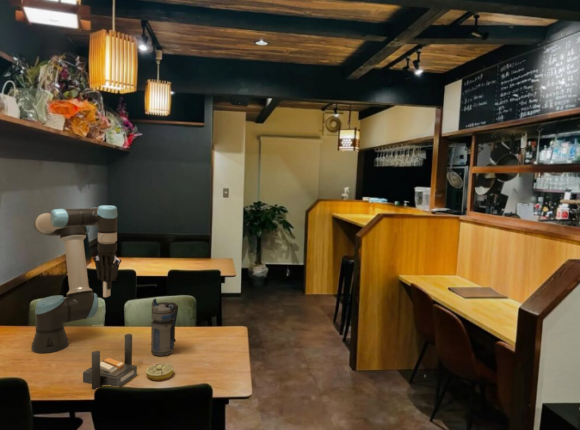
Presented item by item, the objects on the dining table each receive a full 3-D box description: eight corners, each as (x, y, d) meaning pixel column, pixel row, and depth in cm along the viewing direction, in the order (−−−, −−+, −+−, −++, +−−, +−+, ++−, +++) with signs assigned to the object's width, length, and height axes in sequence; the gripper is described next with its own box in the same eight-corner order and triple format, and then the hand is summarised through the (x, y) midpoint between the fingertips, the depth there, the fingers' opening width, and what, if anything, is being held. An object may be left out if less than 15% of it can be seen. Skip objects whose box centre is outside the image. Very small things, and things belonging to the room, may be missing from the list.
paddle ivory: (96, 366, 166) (96, 363, 166) (101, 363, 169) (101, 361, 169) (112, 373, 164) (112, 370, 164) (116, 370, 167) (117, 367, 167)
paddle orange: (103, 362, 170) (103, 359, 170) (108, 359, 173) (108, 357, 172) (119, 368, 168) (119, 366, 168) (123, 366, 171) (124, 363, 170)
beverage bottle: (170, 359, 188) (171, 305, 186) (145, 354, 192) (145, 301, 190) (182, 350, 198) (183, 299, 196) (158, 346, 202) (158, 296, 199)
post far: (122, 367, 178) (123, 335, 177) (127, 364, 181) (127, 333, 180) (128, 369, 177) (129, 337, 176) (133, 366, 180) (133, 334, 179)
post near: (89, 388, 160) (89, 353, 159) (95, 385, 163) (95, 350, 162) (96, 390, 159) (96, 354, 158) (102, 386, 162) (101, 351, 161)
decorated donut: (156, 368, 179) (156, 360, 179) (178, 372, 176) (178, 364, 176) (140, 379, 169) (140, 370, 169) (163, 384, 166) (163, 374, 166)
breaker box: (82, 381, 165) (82, 369, 165) (104, 368, 177) (104, 357, 176) (117, 388, 161) (117, 376, 160) (137, 375, 172) (137, 363, 172)
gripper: (88, 241, 175) (87, 296, 178) (113, 245, 172) (113, 300, 174) (101, 239, 182) (100, 291, 185) (126, 242, 179) (125, 296, 181)
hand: (106, 296), depth 179 cm, fingers closed
